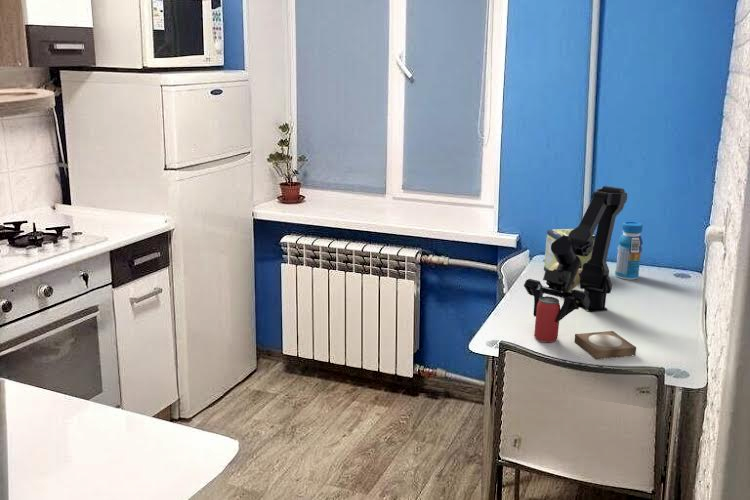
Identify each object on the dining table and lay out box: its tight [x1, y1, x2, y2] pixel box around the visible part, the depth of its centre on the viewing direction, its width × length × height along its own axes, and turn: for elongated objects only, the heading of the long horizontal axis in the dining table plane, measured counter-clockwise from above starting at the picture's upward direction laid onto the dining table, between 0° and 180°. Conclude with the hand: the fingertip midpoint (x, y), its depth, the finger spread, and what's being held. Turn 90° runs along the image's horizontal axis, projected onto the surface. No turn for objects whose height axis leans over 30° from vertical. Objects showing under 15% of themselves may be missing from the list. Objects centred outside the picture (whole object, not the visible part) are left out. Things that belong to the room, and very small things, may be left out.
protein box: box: [543, 228, 596, 272], centre depth 278 cm, size 10×16×16 cm
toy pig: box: [550, 262, 582, 293], centre depth 260 cm, size 10×12×11 cm
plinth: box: [573, 330, 637, 360], centre depth 214 cm, size 12×12×3 cm
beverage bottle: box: [614, 220, 644, 281], centre depth 275 cm, size 8×8×20 cm
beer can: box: [533, 295, 561, 343], centre depth 219 cm, size 7×7×12 cm
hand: (545, 318), depth 217 cm, fingers closed on beer can, 6 cm apart
